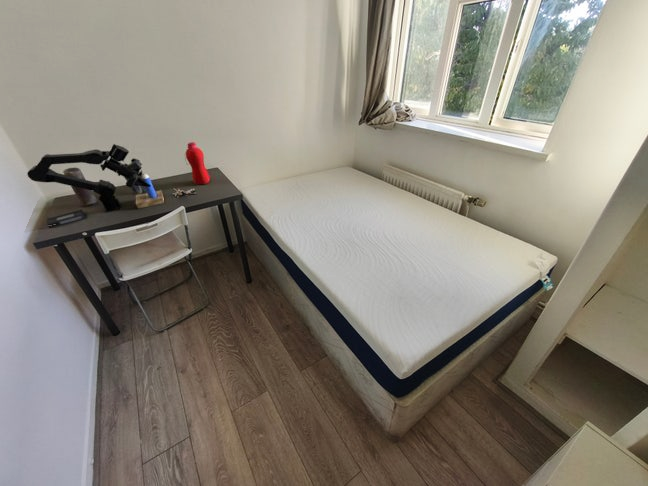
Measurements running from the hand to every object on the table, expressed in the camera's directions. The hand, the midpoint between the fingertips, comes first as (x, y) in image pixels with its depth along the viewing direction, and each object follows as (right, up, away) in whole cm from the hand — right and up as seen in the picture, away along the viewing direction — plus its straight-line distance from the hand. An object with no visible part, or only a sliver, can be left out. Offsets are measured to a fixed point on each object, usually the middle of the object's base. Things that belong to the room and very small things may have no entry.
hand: (150, 184), depth 151 cm
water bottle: (+16, +7, +26) cm, 31 cm away
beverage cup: (-17, -2, +15) cm, 23 cm away
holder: (-3, -9, +5) cm, 10 cm away
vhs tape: (-36, -21, -11) cm, 43 cm away
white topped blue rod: (-1, -6, +4) cm, 7 cm away
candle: (-37, -10, +4) cm, 38 cm away
